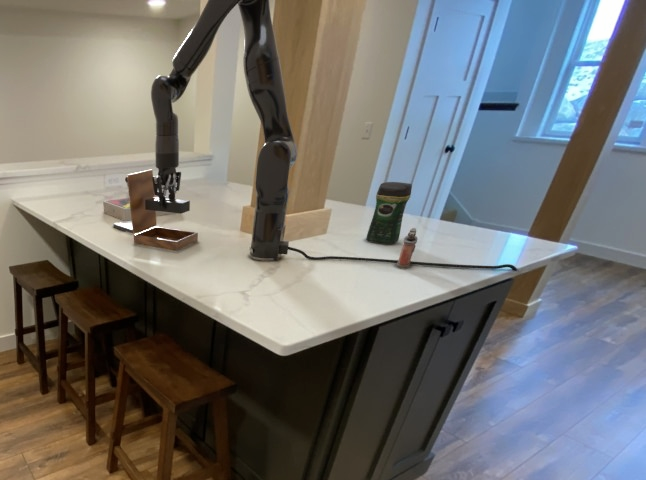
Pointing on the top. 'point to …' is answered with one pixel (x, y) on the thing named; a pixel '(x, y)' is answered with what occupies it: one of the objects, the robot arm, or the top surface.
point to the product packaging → (124, 208)
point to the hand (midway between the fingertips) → (167, 206)
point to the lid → (141, 200)
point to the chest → (166, 238)
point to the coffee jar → (389, 212)
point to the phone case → (125, 226)
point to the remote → (168, 205)
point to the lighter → (407, 249)
